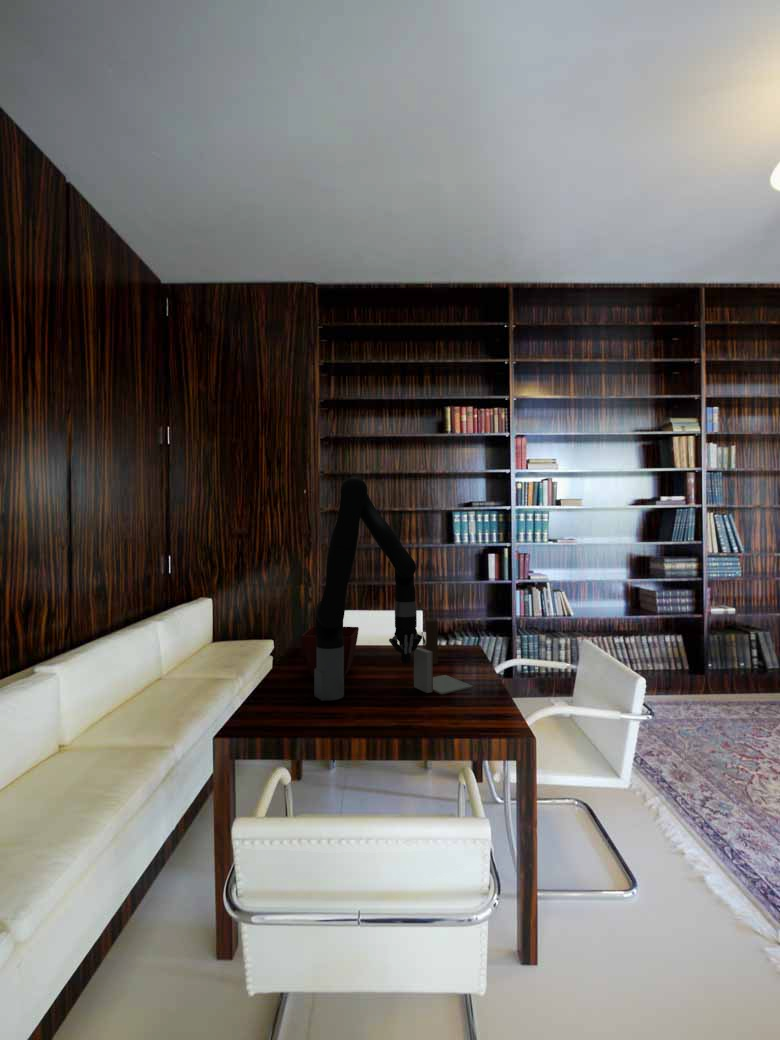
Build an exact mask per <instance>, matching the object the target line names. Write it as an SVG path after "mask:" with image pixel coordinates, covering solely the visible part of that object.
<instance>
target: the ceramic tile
mask: <svg viewBox="0 0 780 1040" xmlns="http://www.w3.org/2000/svg"><path fill="white" fill-rule="evenodd" d="M433 665H434V664H433V652H432V651H429V650H426V649H424V648H423V647H418V646H417V648H416V650H415V651H413V688H415V689H417V690H419V691H421V692H423V693H426V694H429V693H433V692H434V691H433V677H434V676H433V675H434V666H433Z"/></svg>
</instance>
